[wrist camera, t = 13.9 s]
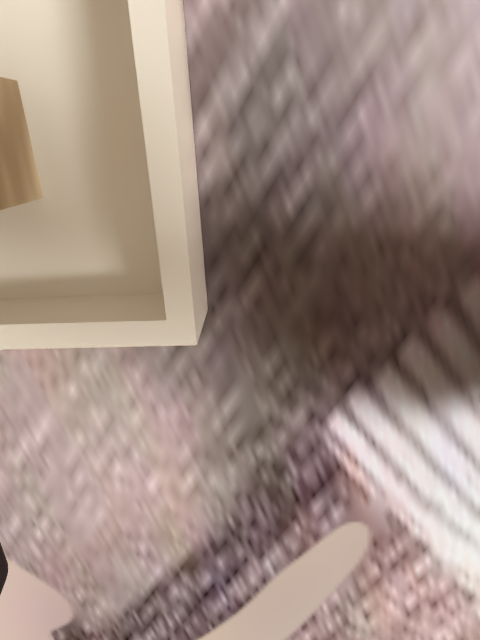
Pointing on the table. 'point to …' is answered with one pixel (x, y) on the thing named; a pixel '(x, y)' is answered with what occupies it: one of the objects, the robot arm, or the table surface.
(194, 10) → the table surface
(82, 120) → the rectangular frame
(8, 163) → the strut
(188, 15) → the table surface
